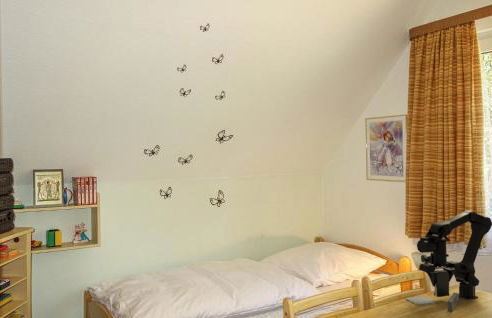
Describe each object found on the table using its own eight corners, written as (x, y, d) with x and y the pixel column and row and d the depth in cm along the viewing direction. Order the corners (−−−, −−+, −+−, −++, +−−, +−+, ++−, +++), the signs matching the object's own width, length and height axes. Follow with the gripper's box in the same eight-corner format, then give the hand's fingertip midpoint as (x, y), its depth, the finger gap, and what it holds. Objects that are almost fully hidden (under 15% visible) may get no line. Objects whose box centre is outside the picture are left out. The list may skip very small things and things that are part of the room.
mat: (423, 297, 195) (423, 296, 195) (437, 303, 186) (437, 301, 186) (405, 299, 192) (405, 298, 192) (419, 305, 183) (419, 304, 183)
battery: (444, 293, 193) (443, 269, 194) (450, 296, 190) (449, 270, 190) (431, 295, 191) (430, 270, 192) (437, 297, 188) (436, 272, 188)
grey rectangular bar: (453, 301, 188) (453, 292, 188) (458, 302, 187) (458, 293, 187) (446, 310, 176) (446, 301, 176) (452, 311, 175) (452, 302, 175)
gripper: (442, 246, 202) (443, 279, 201) (410, 249, 196) (411, 283, 195) (461, 251, 191) (461, 285, 191) (427, 254, 185) (428, 289, 185)
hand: (440, 285), depth 191 cm, fingers closed on battery, 7 cm apart
